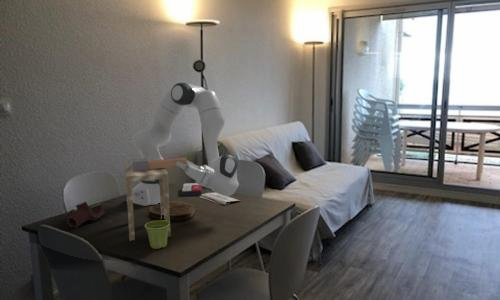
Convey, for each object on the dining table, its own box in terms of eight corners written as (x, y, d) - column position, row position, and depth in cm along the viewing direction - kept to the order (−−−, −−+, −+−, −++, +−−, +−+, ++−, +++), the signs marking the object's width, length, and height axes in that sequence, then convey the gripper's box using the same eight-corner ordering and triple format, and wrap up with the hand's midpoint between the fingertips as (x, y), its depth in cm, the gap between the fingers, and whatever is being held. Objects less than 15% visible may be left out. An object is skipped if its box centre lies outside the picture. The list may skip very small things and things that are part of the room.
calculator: (181, 190, 224) (182, 182, 238) (181, 198, 225) (183, 189, 239) (201, 189, 225) (201, 181, 240) (201, 197, 226) (202, 189, 240)
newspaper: (198, 198, 223) (198, 193, 222) (216, 196, 230) (216, 192, 230) (222, 207, 205) (222, 202, 205) (241, 205, 213) (241, 200, 213)
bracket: (108, 211, 190) (97, 192, 189) (82, 230, 176) (70, 210, 174) (99, 214, 193) (89, 196, 191) (73, 233, 179) (62, 214, 177)
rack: (165, 219, 187) (163, 163, 183) (170, 236, 166) (167, 173, 162) (129, 222, 183) (125, 165, 178) (129, 240, 162) (125, 176, 158)
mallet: (185, 163, 178) (184, 154, 177) (187, 166, 172) (186, 156, 171) (133, 168, 172) (132, 159, 171) (133, 171, 166) (132, 162, 165)
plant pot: (141, 250, 153) (140, 227, 152) (152, 240, 162) (150, 219, 161) (165, 251, 151) (164, 229, 150) (174, 241, 160) (173, 220, 159)
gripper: (202, 164, 188) (176, 150, 183) (211, 173, 168) (181, 159, 164) (196, 176, 188) (169, 163, 183) (204, 187, 168) (174, 173, 164)
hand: (175, 161), depth 173 cm, fingers closed on mallet, 3 cm apart
